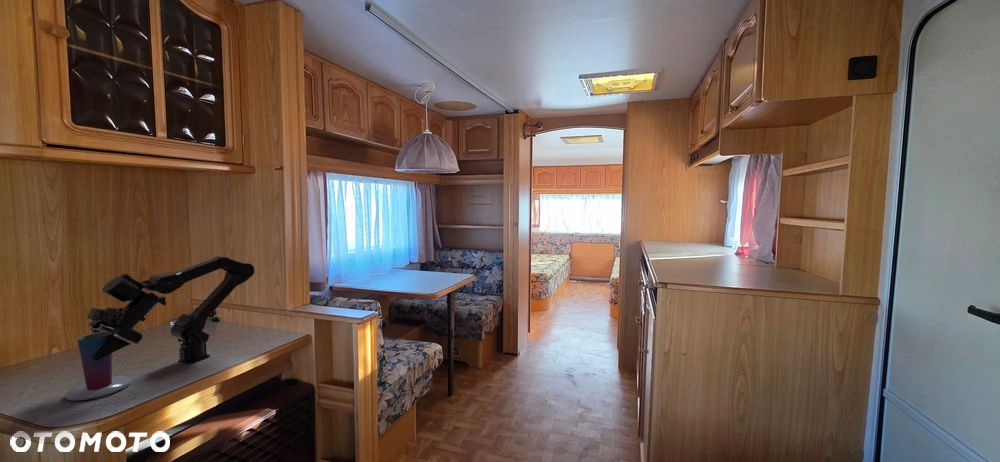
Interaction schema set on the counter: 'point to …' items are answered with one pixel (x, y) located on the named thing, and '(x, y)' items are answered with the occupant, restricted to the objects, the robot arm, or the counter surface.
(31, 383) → the counter surface
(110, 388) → the saucer
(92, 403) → the counter surface
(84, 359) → the cup
